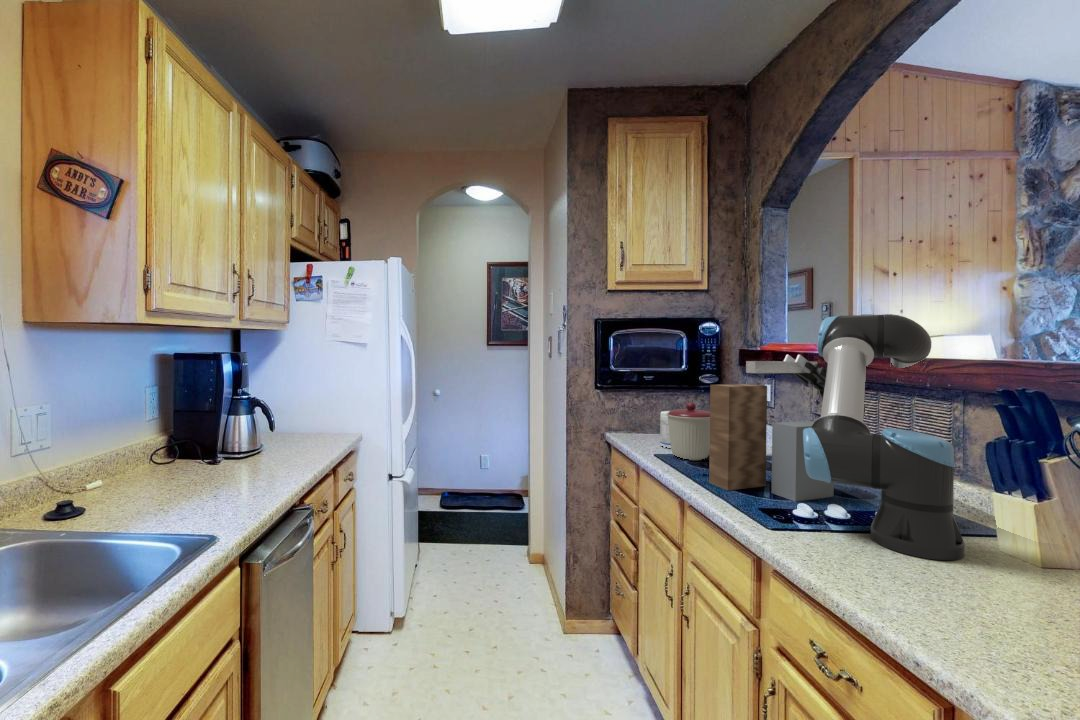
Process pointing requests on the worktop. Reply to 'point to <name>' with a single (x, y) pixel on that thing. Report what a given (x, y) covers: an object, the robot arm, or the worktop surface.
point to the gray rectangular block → (794, 464)
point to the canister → (689, 432)
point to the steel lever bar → (774, 367)
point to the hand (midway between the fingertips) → (791, 358)
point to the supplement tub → (664, 429)
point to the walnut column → (738, 436)
